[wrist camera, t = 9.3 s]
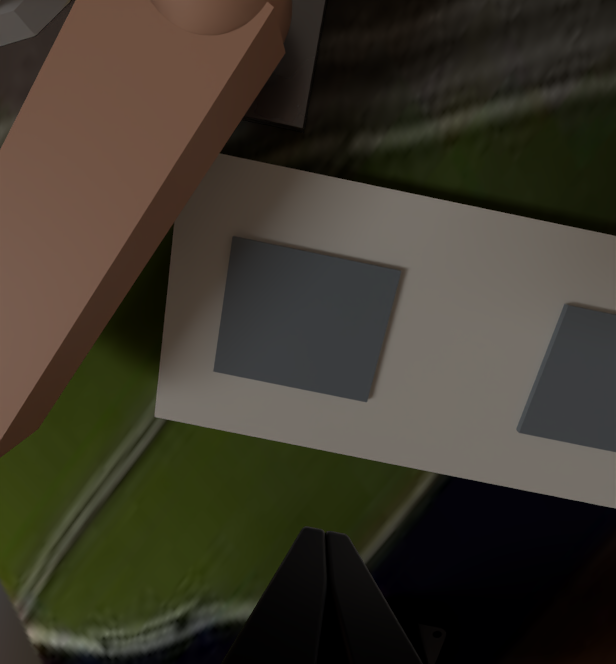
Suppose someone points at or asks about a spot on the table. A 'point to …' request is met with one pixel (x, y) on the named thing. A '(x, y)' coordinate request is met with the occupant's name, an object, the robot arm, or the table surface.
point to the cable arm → (112, 170)
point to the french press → (26, 17)
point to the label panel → (393, 329)
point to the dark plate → (292, 71)
